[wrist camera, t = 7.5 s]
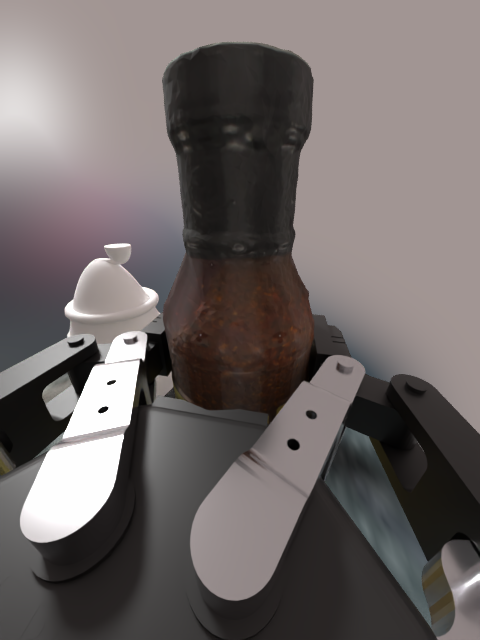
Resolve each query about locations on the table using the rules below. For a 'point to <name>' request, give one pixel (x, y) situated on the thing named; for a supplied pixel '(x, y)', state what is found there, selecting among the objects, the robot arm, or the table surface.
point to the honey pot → (113, 303)
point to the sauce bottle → (238, 226)
